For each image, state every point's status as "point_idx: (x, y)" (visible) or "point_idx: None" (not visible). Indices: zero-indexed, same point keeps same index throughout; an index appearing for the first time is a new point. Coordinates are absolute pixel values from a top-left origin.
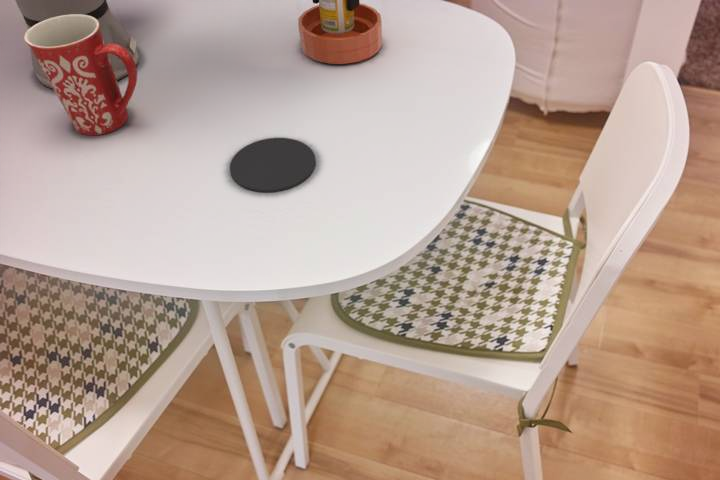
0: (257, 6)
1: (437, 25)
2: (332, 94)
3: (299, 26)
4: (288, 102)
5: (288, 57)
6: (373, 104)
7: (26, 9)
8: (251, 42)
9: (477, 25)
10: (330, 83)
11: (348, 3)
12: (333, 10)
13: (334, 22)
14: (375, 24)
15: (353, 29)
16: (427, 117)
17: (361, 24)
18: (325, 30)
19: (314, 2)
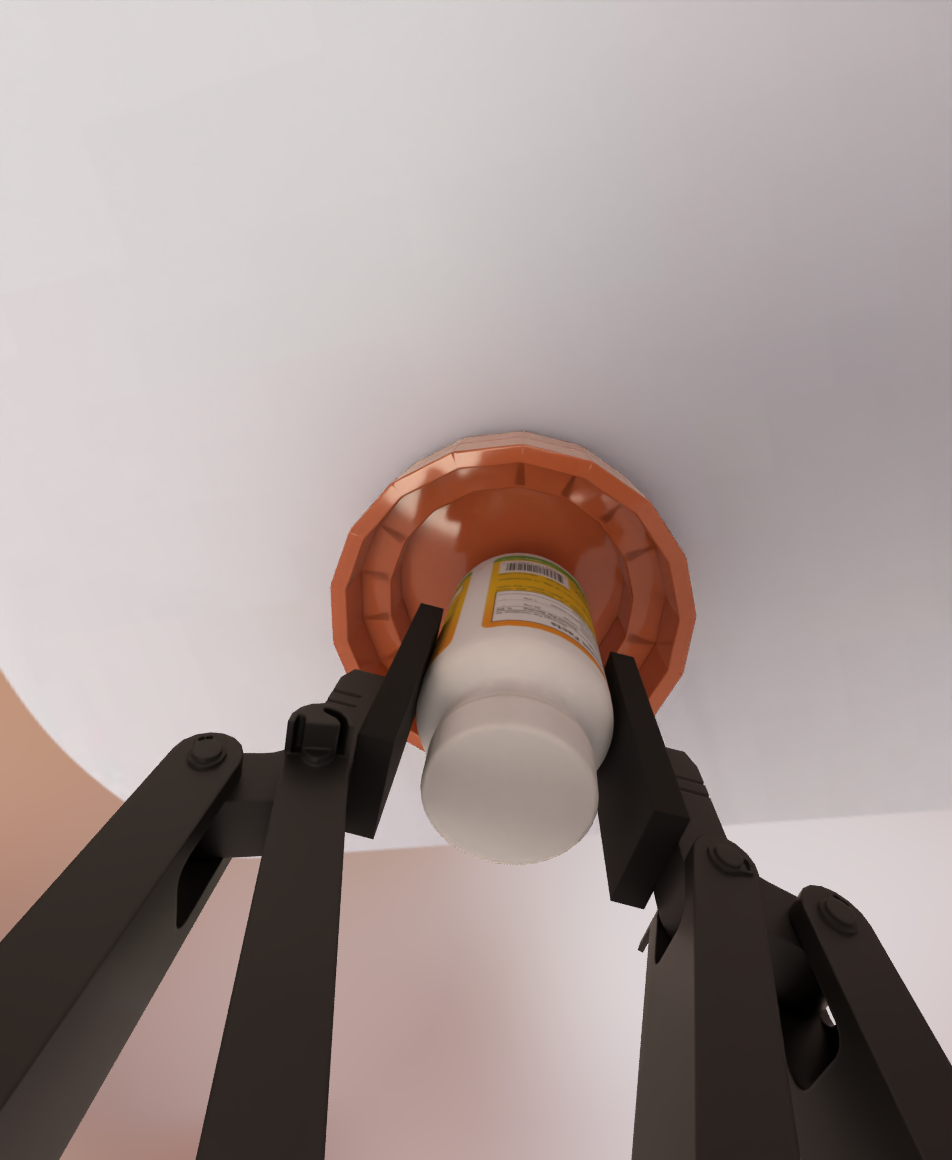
0: (889, 813)
1: None
2: (448, 195)
3: (677, 543)
4: (625, 66)
5: (701, 469)
6: (259, 149)
7: None
8: (880, 561)
9: (124, 765)
10: (480, 290)
11: (428, 621)
12: (508, 590)
13: (510, 569)
14: (345, 608)
15: None
16: (22, 92)
17: None
18: (558, 565)
19: (625, 657)
